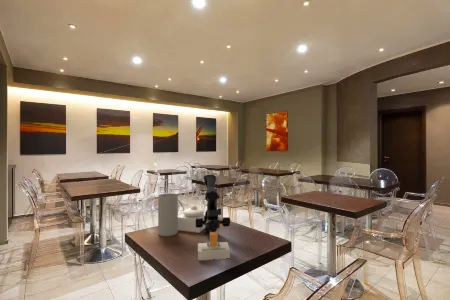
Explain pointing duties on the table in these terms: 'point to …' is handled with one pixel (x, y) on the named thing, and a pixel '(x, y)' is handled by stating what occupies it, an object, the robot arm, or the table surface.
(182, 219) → the butter dish
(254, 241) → the table surface
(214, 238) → the breaker lever
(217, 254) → the box
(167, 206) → the cylinder vase
